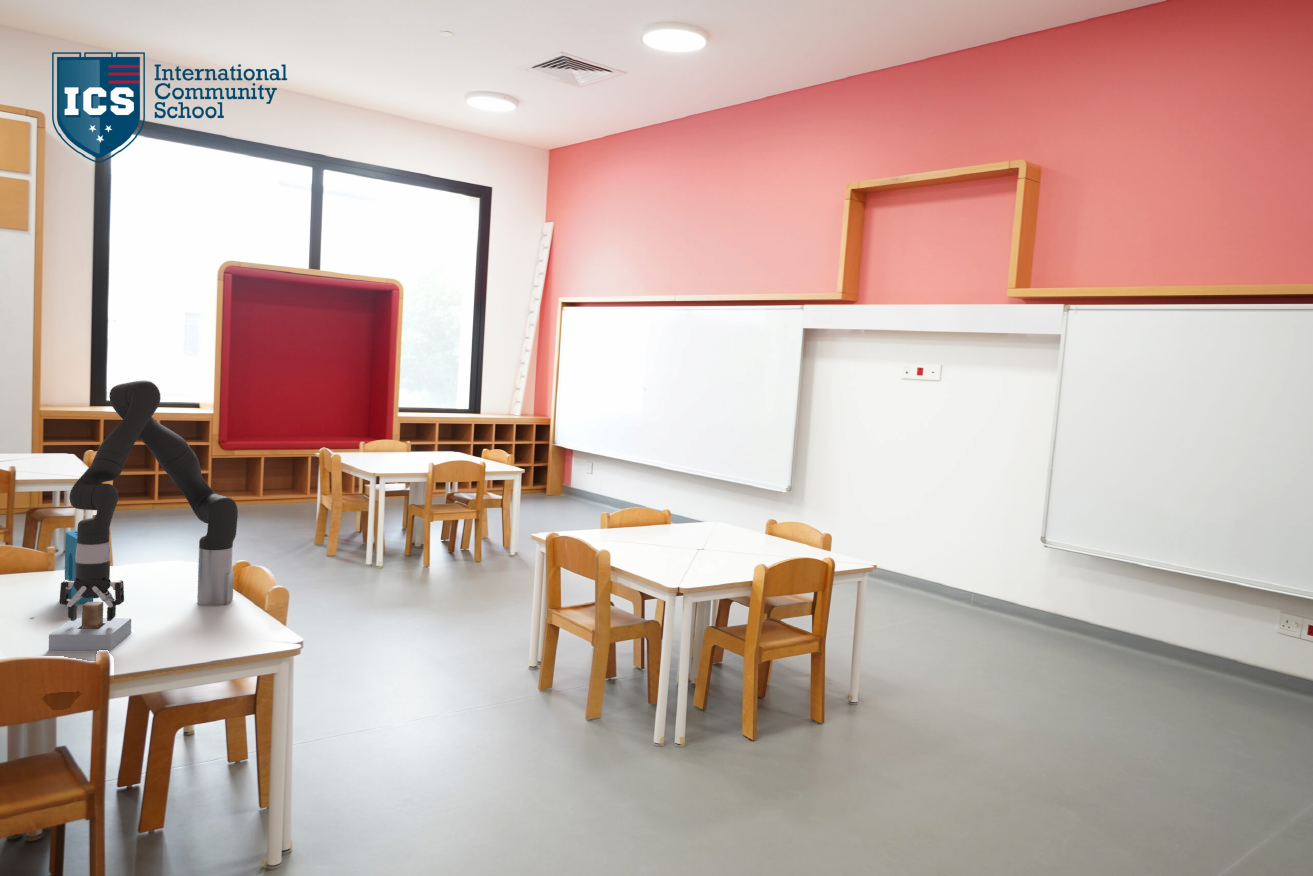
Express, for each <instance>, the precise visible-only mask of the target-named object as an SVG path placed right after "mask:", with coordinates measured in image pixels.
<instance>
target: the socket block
mask: <svg viewBox="0 0 1313 876" xmlns="http://www.w3.org/2000/svg"><path fill="white" fill-rule="evenodd" d="M131 633H132V617H130V618H129V617H127V618H126V617H122V618H121V617H114V618H113V619H112V620H111V621H107V617H103V626H102V627H101V628H99V629H82V617H77V619H76V620H75V621H70V619H69V620H68V621H66V622H65V623H64V624H62V625H61V626H60V627H58V628H56V629H55V630H54V631H52V632H50V633H49V634H48V651H102V650H101V649H106V650H105V651H112V649H114V648H115V647H116V646H117V645H119V644H120V643H121V642H122V641H123V640H124V639H126V638H127V637H128V636H129V635H130V634H131Z"/></svg>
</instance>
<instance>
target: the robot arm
mask: <svg viewBox="0 0 1313 876" xmlns="http://www.w3.org/2000/svg"><path fill="white" fill-rule="evenodd" d="M110 389H111V390H110V392H109V402H110V404H111V406H112V408H113V410H114V411H115V412H116V414H117V415H118V416H119V417H120V418H121V419H122V420H121V421H120V423H118V424H117V426H116V427H115V428H114V429H113V430H112V431H111V432H110V433H109V434H108V435H107V436H106V438H104V440H103V441H102V443H101V444H100V445H99V448H97V451H96V453H95V456H94V457H93V460H92V462H91V464H90V466H89V467H88V468H87V469H86V470H85V472H84V473H82V475H81V476H80V477H79V478H78V480H76V482H75V483H74V484H73V486H72V488H71V490H70V493H69V498H68V499H69V502H70V504H71V505H70V506H72V507H73V508H75V509H77V510H85V511H96V513H95V516H94V517H91V518H85V519H81V520H80V521H79V522H78V523H77V529H76V531H77V548H76V555H75V559H76V566H75V578H76V579H75V581H70V580H65V579H64V580H63V581H62V582H61V583H60V591H59V601H58V603H59V605H64V606H67V617H68V619H69V620H70V621H75V620H76V619H77V618H78V605H76V603H77V602H78V601H79V599H80V598H81V597H84V598H94V599H98V598H100V600H101V602H103V603H105V604H106V606H107V607H106V609H107V610H106V618H107V621H111V620H112V619H113V618H116V611H117V610H116V609H117V606H120V605H122V603H124V602H125V589H124V587H125V586H124V585H125V584H124V581H123V580H122V579H121V580H118V581H111V578H110V575H111V546H110V545H111V544H110V535H111V534H110V533H111V532H110V528H111V527H110V526H111V524H112V520H113V516H114V513H115V509H116V508H117V504H118V500H119V492H118V489H117V487H116V486H114V485H113V484H111V483H107V482H112V481H115V480H117V479H119V478H120V476H121V474H122V471H123V469H124V466H125V464H126V462H127V460H128V457H129V455H130V453H131V451H132V449H133V447H134V445H135V444H136V442H137V440H138V439H140V440H141V441H142V443H143V444H144V445H145V447H147V449H148V450H149V452H150V453H151V454H152V455H153V457H154V458H155V460H156V461H157V462H158V464H159V465H160V466H161V468H162V469H163V471H165V473H166V474H167V475H168V476H169V478H170V479H171V481H172V482H173V483H174V484H175V486H177V488H178V489H179V490H180V492H182V494H183V496H184V497H185V498H186V501H187V503H188V504H189V506H190V508H191V509H192V511H193V513H194V515H195V516H196V517H197V518H198V519H199V520H200V521H201V522H203V523H205V524H207V530H206V534H205V535H204V536H201V537H200V538H199V541H198V543H199V544H198V546H199V547H198V565H197V566H198V567H197V569H198V570H197V571H198V572H197V604H198V605H200V606H208V607H209V606H211V607H212V606H213V607H214V606H223V605H229V604H230V603H231V601H233V599H234V580H235V579H234V574H235V573H234V572H235V570H234V569H233V551H234V550H233V547H234V541H235V539H236V536H237V530H238V529H237V527H238V517H239V511H238V505H237V503H236V501H235V500H234V499H232V498H231V497H229V496H225V495H221V494H218V493H216V492H215V491H214V490H213V489H212V487H211V486H210V485H209V484H208V483H207V482H206V480H205V479H204V476H203V474H202V469H201V465H200V461H199V458H198V456H197V455H196V453H195V452H194V450H193V449H192V448H191V446H190V445H189V443H188V442H187V440H186V439H184V438H183V437H182V436H180V435H179V434H177V433H176V432H175V431H173V430H171V429H170V428H169V427H166V426H165V425H162V424H161V423H160V422H158V421H157V420H156V419H155V418H154V417H153V415H154V414H155V412H156V411H157V409H158V407H159V405H160V403H161V392H160V389H159V387H158V385H156V384H155V383H154V382H152V381H151V380H146V379H145V380H136V381H130V382H125V383H120V384H116V385H115V386H113V387H112V388H110ZM105 482H106V483H105ZM72 586H74V588H75V589H76V590H77V591H78V592H77V593H76V594H75V595H74V596H73V598H72V599H69V591H70V589H71V588H72ZM110 588H112V590H113V591H114V597H113V595H112V593H111V592H110V591H109V589H110Z"/></svg>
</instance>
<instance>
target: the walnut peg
mask: <svg viewBox="0 0 1313 876" xmlns="http://www.w3.org/2000/svg"><path fill="white" fill-rule="evenodd" d="M81 605H82V606H81V618H82V629H99V628H101V627H102V626H103V618H104V601H93V602H87V603H85V604H81Z"/></svg>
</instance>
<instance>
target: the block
mask: <svg viewBox="0 0 1313 876" xmlns="http://www.w3.org/2000/svg"><path fill="white" fill-rule="evenodd" d="M64 535H65V536H64V537H65V538H64V539H65V540H64V542H65V543H64V581H65V580H70V581H75V579H76V578H75V566H76V559H75V555H76V548H77V530H71V531H69V530H68V531H65V534H64ZM77 592H78V591H77V590H76V589H75V588H74V586H72V588H71V589H70V591H69V599H72V598H73V596H74V595H75V594H76V593H77ZM94 599H95V598H84V597H81V598H80V599H79V601H78V602H77V603H76V605H77V606H80V605H84V604H85V603H87V602H94Z"/></svg>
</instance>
